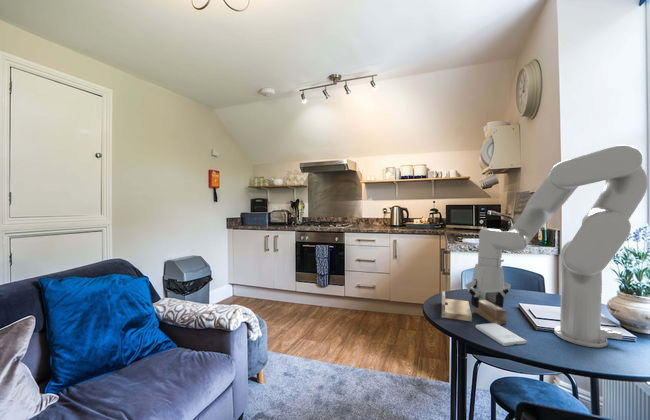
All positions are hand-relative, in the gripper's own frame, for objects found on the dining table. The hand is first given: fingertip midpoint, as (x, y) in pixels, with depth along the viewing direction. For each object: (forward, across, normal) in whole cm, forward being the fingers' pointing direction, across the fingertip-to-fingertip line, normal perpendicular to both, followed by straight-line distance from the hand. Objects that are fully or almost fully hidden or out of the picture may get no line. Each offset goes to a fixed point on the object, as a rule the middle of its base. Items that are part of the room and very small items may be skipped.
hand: (487, 306), depth 106 cm
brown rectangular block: (+4, -1, +1) cm, 5 cm away
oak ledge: (+5, +8, -6) cm, 11 cm away
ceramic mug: (+5, -10, -14) cm, 17 cm away
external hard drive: (+5, +5, +14) cm, 15 cm away
